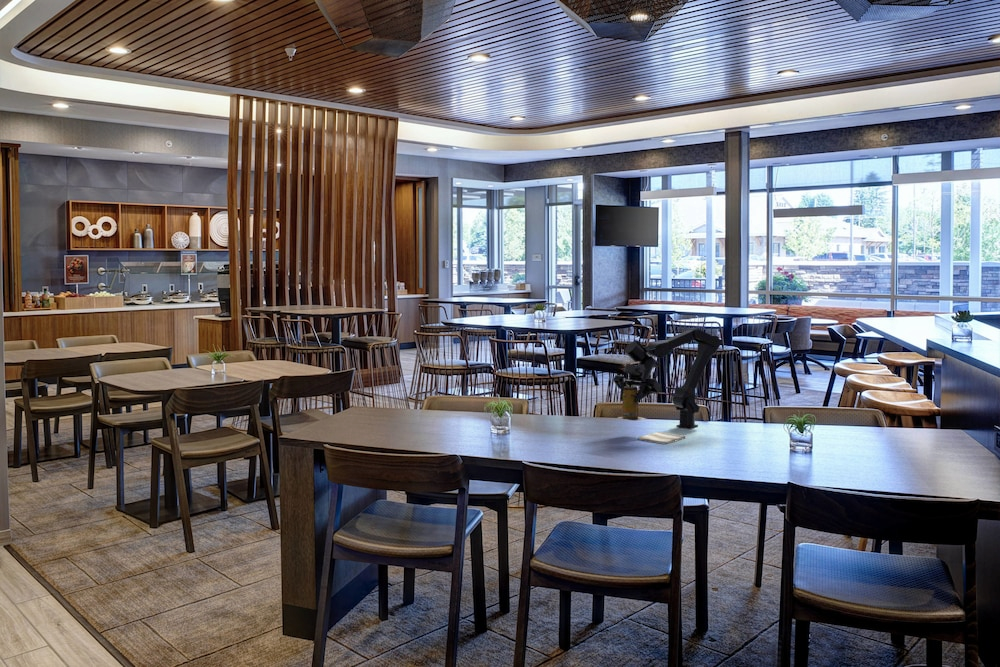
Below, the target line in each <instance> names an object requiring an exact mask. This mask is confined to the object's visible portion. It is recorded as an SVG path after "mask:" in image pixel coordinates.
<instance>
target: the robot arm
mask: <svg viewBox="0 0 1000 667" xmlns="http://www.w3.org/2000/svg"><path fill="white" fill-rule="evenodd" d="M692 341H694V342H695V343H697V354H696V356H695V358H694V361H693V363H692V365H691V368H690V370H689V372H688V374H687V376H686V379H685V381H684V383H683V385H681V387H679V386H677V387H675V391H674V393H672V402H673V405H674V406H675V410H676V411H679V424H676V427H678V426H679V427H678V428H685V427H687V428H686V429H693V428H696V427H698V426H699V424H696V423H695V422H696V421H695V419H696V416H695V415H696V414H697V413H699V411H700V406H699V405H698V404H697V403H696V402H695V400H696V397H697V396H696V389H697V387H698V384H699V382H700V380H701V377H702V375H703V373H704V371H705V368H706V366H707V364H708V363H709V360H710V359H711V357H712V356H713V355H714V354H715V353H717V351H718V349H719V348H720V347H721V339H720V337H719V336H718V335H715V334H710V333H707V332H706V331H703V330H701V329H699V328H695V327H694V328H693V327H691V328H690V327H689V329H687V330H685V331H683V332H681V333H678V334H675V335H674V336H671V337H669V338H667V339H664V340H657V341H653V342H650V343H648V345H646V346H644V345H643V344H642V343H641V342H640V341H639V340H638V339H635V340H633V342H631V343H629V344H627V345H626V347H625V348H624V353H625V354H626V355H627V356H628V357H629V358H630V359H631V360H632V361H633V362H634V363H636V362H638V364H633V363H632V364H630V363H626V364H625V368H624V373H625V374H627V375H628V376H627V377H628V378H629V379H627V378H626V377H625V375H619V374H618V375H615V376H614V377H613V379H612V381H613V382H614V384H615V386H616V387H617V389H619V390H620V397H619V400H620V402H623V400H622V398H623V393H624V387H626V386H633V387H637V388H638V387H639V388H638V390H637V391H638V393H637V395H636V397H635V400H634V402H635V403H636V402H638V403H639V401H641V400H642V399H644V398H645V397H648V396H649V395H652V394H653V393H654V394H659V393H660V391H661V389H662V388H661V384H660V382H658V381H657V378H651V377H652V375H651V374H652V371H653V369H654V368H660V363H659V361H658V360H657V359H663V358H665V357H666V356H667V355H669V354H670V353H671V352H672V351H673V350H674V349H676V348H679V347H680V346H683V345H685V344H687V343H690V342H692ZM655 358H656V359H655ZM695 426H696V427H695ZM692 427H693V428H692Z"/></svg>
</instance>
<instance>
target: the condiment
mask: <svg viewBox="0 0 1000 667" xmlns="http://www.w3.org/2000/svg"><path fill="white" fill-rule="evenodd" d="M638 391H639V388H638V386H633V385H629V386H626V387H624V393H623V398H622V400H623V401H621V402H622V403H621V404H622V410H621V411H622V413H621V414H622V416H618V417H617V419H623V420H629V421H634V422H636V421H642V420H646V419H648V418H646V417H642V416H639V401H638V402H636V403H635V402H634V400H635V397H636V395H637V393H638Z"/></svg>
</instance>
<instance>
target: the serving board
mask: <svg viewBox="0 0 1000 667" xmlns="http://www.w3.org/2000/svg"><path fill="white" fill-rule="evenodd" d="M682 438H684V439H686V435H681V434H674V433H669V432H662V431H661V432H660V431H656V432H653V433H650V434H644V435H642V436H638V437H637V438H636V440H637V439H639V440H638V441H642V440H646V441H645V442H648V441H651V442H650V443H654V442H657V443H656V444H661V443H664V444H663V445H667V444H666V443H668V444H670V443H669V442H671V443H674V442H676V441H675V440H678V441H680V440H679V439H681V440H683V439H682ZM673 441H674V442H673Z"/></svg>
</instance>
